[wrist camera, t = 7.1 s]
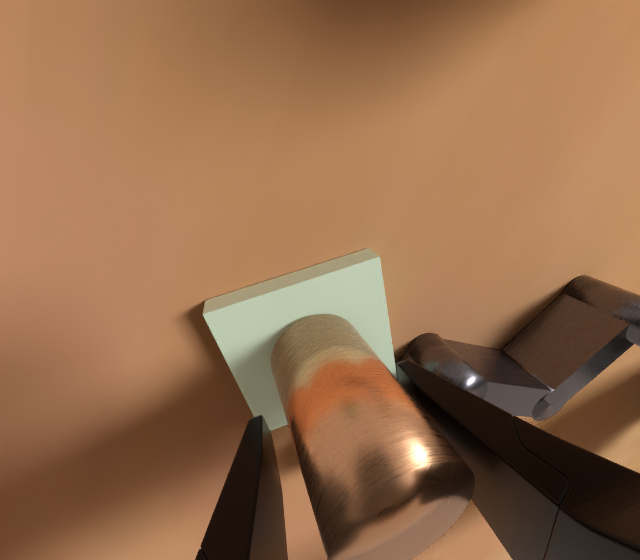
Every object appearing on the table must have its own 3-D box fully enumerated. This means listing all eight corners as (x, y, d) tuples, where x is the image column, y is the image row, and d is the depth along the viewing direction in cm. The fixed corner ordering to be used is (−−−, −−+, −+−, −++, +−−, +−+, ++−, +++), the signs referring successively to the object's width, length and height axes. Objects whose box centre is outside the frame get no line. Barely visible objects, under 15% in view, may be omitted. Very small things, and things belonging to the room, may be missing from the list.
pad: (387, 367, 14) (397, 381, 14) (260, 415, 14) (262, 434, 13) (368, 247, 11) (379, 256, 11) (205, 300, 11) (202, 314, 10)
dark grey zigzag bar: (578, 343, 18) (663, 393, 14) (335, 441, 16) (364, 527, 12) (595, 270, 15) (703, 308, 12) (314, 374, 13) (342, 456, 10)
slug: (364, 369, 13) (473, 521, 8) (285, 404, 12) (346, 600, 7) (350, 300, 11) (477, 435, 6) (257, 336, 10) (309, 527, 5)
